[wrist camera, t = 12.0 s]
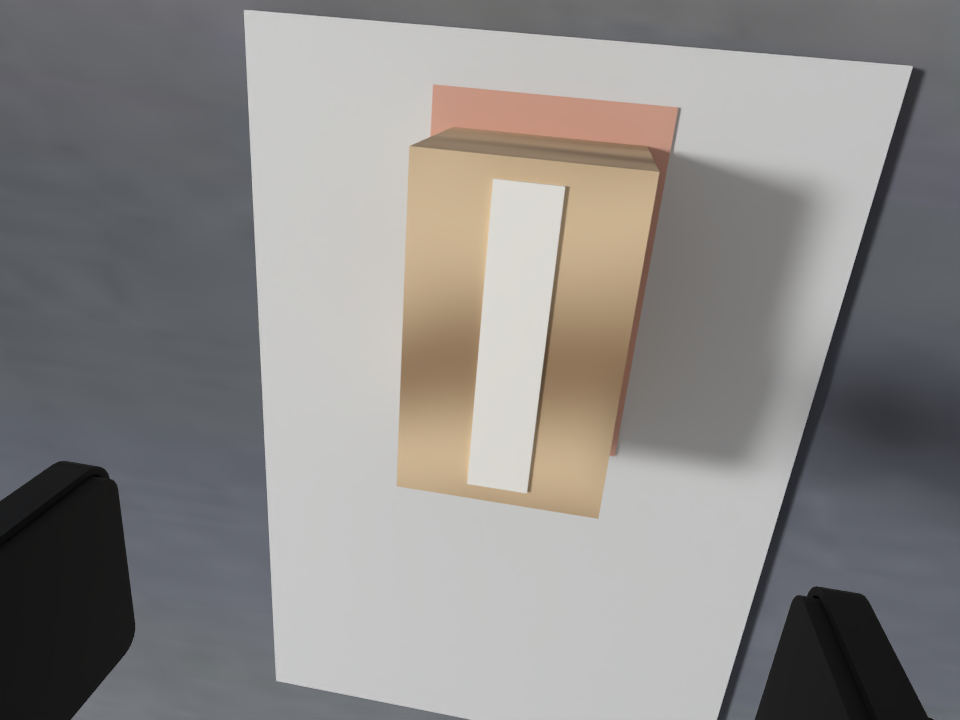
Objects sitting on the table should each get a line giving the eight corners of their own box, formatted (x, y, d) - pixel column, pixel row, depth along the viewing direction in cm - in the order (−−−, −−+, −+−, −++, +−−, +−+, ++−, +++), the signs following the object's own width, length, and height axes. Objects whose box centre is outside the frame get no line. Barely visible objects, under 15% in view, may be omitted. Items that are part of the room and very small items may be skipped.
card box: (453, 126, 20) (408, 146, 16) (647, 146, 20) (659, 172, 15) (436, 405, 24) (395, 488, 19) (599, 429, 23) (598, 521, 19)
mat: (701, 754, 29) (703, 767, 28) (281, 671, 31) (275, 682, 30) (905, 66, 18) (914, 66, 18) (251, 10, 21) (242, 9, 20)
